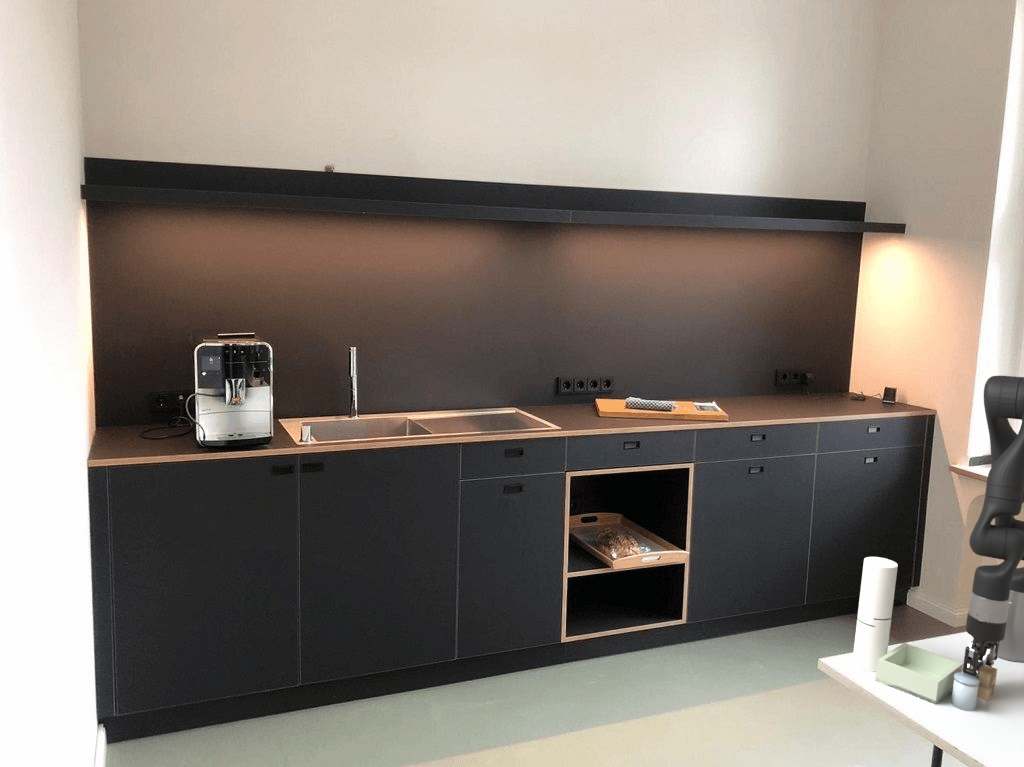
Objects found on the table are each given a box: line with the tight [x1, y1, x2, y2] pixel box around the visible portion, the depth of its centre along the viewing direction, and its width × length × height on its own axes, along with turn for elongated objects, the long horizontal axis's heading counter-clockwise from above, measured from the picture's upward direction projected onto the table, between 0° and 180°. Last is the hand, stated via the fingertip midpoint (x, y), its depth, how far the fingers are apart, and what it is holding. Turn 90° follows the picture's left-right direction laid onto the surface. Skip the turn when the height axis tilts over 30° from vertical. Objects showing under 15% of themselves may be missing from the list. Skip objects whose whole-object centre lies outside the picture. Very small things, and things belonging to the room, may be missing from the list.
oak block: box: [971, 665, 998, 702], centre depth 187 cm, size 5×5×6 cm
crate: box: [875, 642, 964, 705], centre depth 191 cm, size 14×13×5 cm
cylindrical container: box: [852, 556, 898, 673], centre depth 197 cm, size 7×7×25 cm
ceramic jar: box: [950, 672, 980, 712], centre depth 182 cm, size 5×5×7 cm
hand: (977, 684), depth 188 cm, fingers open, 7 cm apart
